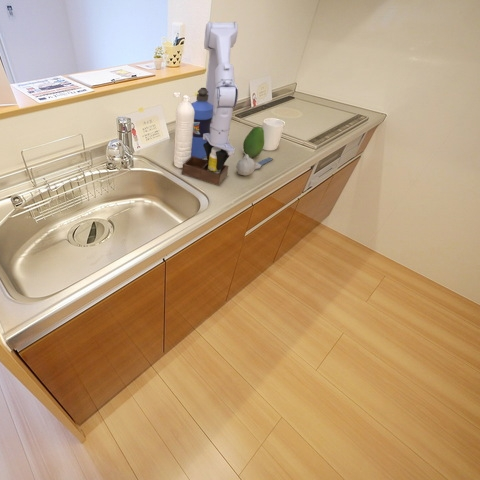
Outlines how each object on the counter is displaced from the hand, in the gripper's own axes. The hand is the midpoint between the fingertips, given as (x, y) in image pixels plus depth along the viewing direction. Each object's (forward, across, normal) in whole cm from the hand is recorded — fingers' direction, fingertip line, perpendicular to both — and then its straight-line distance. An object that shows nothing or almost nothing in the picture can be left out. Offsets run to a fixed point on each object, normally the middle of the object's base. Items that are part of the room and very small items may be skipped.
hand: (214, 165), depth 98 cm
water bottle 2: (+5, +19, -6) cm, 20 cm away
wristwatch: (+5, -2, -19) cm, 20 cm away
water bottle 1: (+5, +15, +5) cm, 17 cm away
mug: (+5, +9, -38) cm, 40 cm away
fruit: (+5, +6, -24) cm, 25 cm away
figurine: (+5, -4, -12) cm, 13 cm away
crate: (+5, +3, +2) cm, 6 cm away
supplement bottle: (+2, 0, 0) cm, 2 cm away
